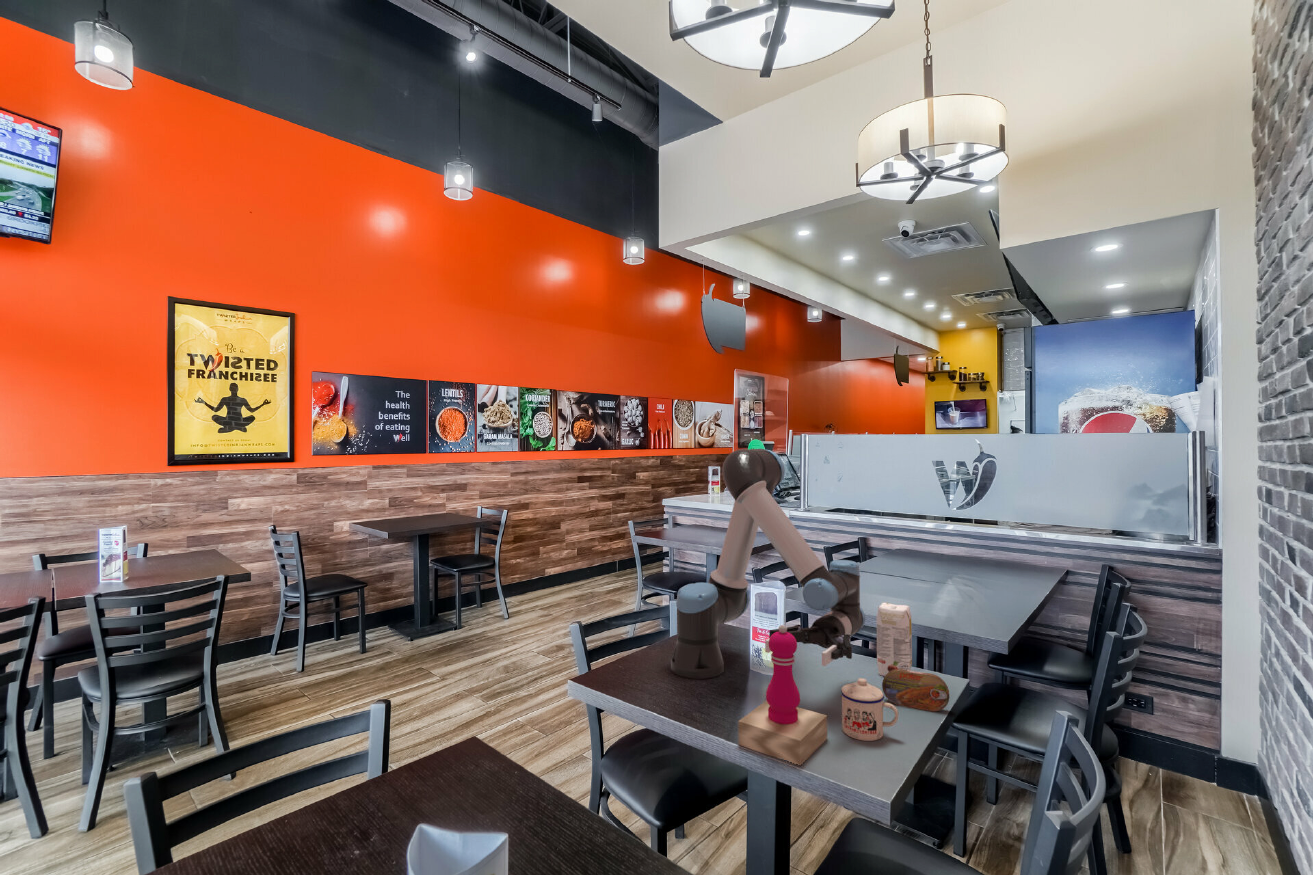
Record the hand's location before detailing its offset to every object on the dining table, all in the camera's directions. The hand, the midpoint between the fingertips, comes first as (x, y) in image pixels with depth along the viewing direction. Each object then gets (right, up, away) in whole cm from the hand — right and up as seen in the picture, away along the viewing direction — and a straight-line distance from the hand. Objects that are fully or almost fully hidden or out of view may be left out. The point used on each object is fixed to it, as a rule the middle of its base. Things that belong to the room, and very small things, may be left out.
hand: (794, 652), depth 133 cm
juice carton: (+36, -18, +34) cm, 52 cm away
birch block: (-3, -18, -5) cm, 18 cm away
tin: (+33, -18, +13) cm, 40 cm away
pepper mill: (-3, -13, -4) cm, 14 cm away
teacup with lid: (+16, -18, -1) cm, 24 cm away
